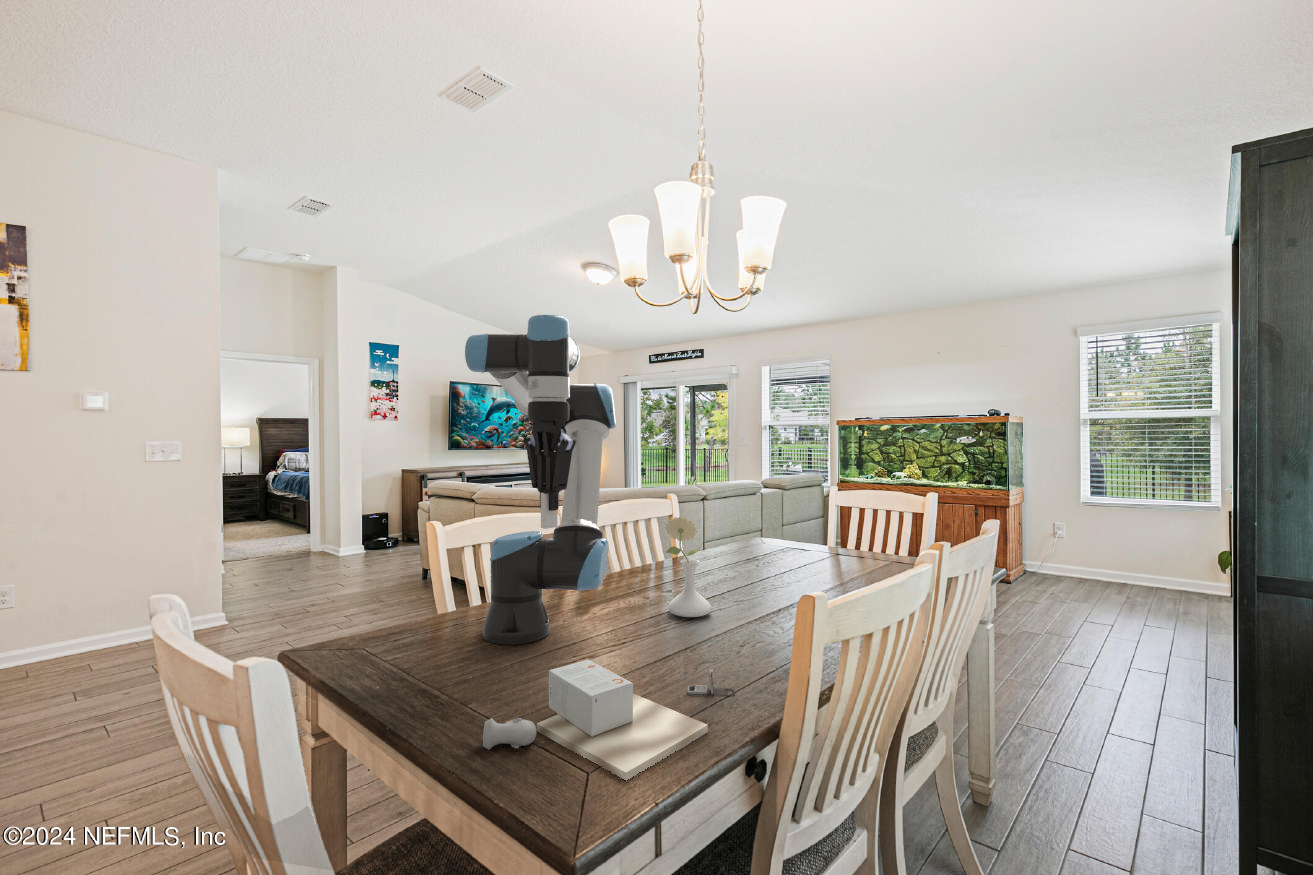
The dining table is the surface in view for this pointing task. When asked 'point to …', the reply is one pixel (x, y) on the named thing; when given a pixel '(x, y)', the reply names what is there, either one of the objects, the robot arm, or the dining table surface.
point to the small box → (591, 697)
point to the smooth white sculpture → (508, 733)
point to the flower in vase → (686, 572)
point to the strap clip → (705, 690)
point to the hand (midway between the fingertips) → (549, 527)
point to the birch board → (629, 738)
